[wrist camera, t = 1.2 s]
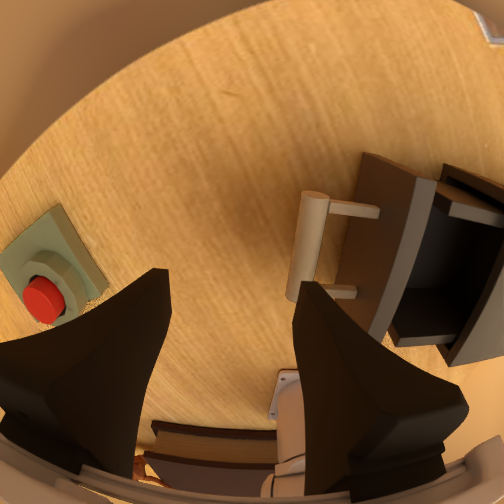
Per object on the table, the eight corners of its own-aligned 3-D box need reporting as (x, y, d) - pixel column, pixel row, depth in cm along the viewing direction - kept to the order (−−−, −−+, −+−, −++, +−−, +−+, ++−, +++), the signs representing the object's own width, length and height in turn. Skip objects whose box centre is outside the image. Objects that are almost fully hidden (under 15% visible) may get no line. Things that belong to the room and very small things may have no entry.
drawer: (276, 289, 21) (282, 360, 15) (296, 141, 16) (321, 157, 10) (446, 296, 21) (484, 346, 15) (484, 185, 16) (542, 217, 10)
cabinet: (404, 295, 22) (448, 368, 14) (443, 162, 17) (525, 200, 9) (490, 296, 22) (532, 347, 15) (526, 195, 17) (585, 231, 9)
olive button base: (60, 203, 19) (34, 219, 16) (114, 291, 22) (98, 317, 19) (4, 251, 21) (-17, 268, 18) (48, 318, 24) (33, 339, 21)
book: (275, 484, 45) (275, 507, 39) (182, 478, 45) (179, 500, 39) (298, 430, 32) (301, 468, 27) (152, 420, 32) (142, 456, 27)
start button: (47, 269, 18) (35, 281, 16) (72, 306, 19) (62, 319, 18) (27, 282, 18) (16, 294, 17) (50, 315, 20) (41, 327, 18)
